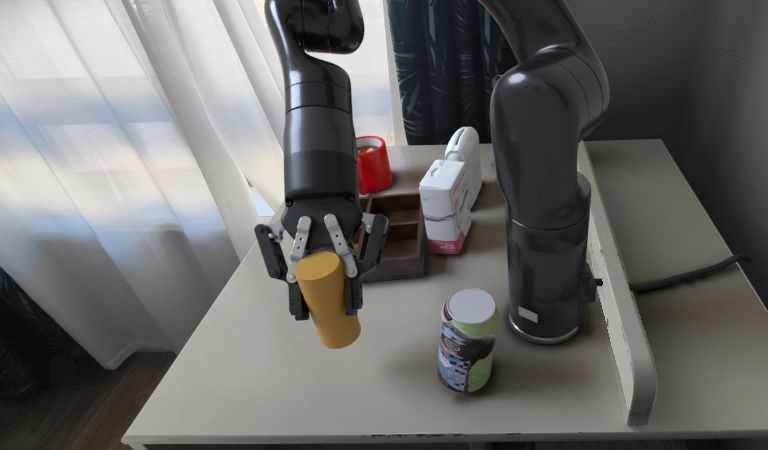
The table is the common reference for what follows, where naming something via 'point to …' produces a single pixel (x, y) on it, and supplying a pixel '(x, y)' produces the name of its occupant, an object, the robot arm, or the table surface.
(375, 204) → the grid
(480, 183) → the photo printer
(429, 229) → the ink box
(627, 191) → the table surface
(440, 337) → the beverage can
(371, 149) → the mug
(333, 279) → the yellow cylinder
